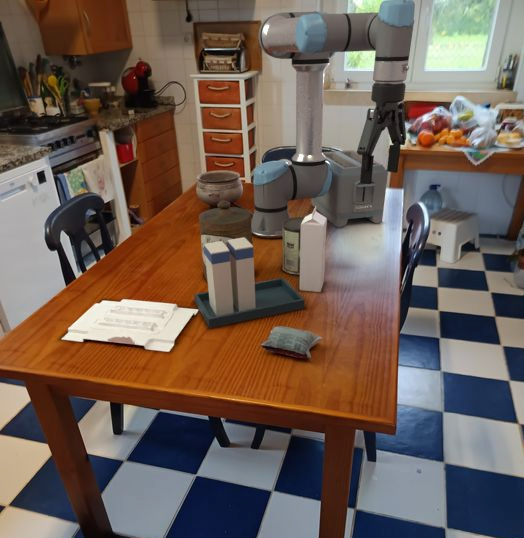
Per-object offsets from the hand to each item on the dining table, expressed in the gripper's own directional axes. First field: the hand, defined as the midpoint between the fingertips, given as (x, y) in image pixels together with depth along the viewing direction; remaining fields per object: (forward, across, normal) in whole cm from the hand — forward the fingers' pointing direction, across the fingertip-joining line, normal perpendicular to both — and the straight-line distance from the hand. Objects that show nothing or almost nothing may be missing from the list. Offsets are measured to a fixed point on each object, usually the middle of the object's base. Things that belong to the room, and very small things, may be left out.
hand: (379, 177), depth 123 cm
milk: (+29, -13, +10) cm, 33 cm away
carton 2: (+28, -34, +18) cm, 47 cm away
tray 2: (+29, -58, +34) cm, 73 cm away
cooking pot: (+29, +25, +84) cm, 92 cm away
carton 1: (+28, -39, +21) cm, 52 cm away
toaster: (+29, +46, +36) cm, 65 cm away
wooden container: (+29, -22, +35) cm, 50 cm away
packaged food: (+29, -42, -4) cm, 51 cm away
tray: (+29, -32, +17) cm, 47 cm away
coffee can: (+29, -5, +21) cm, 36 cm away
